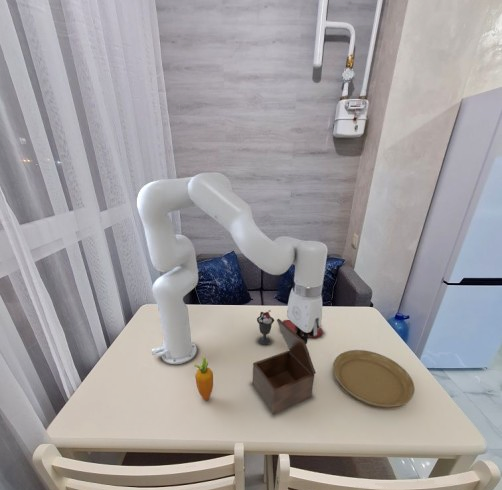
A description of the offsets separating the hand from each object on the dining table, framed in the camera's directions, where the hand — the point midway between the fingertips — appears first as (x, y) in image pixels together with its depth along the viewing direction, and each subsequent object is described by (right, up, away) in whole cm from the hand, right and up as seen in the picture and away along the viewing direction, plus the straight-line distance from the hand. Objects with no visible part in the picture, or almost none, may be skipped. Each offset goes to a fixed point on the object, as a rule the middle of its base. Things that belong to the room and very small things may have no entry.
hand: (300, 343), depth 78 cm
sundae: (-9, -5, +27) cm, 29 cm away
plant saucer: (+24, -14, +8) cm, 29 cm away
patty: (+7, -2, +35) cm, 35 cm away
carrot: (-28, -17, +1) cm, 33 cm away
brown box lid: (-2, -1, -1) cm, 2 cm away
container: (-5, -16, +4) cm, 17 cm away
